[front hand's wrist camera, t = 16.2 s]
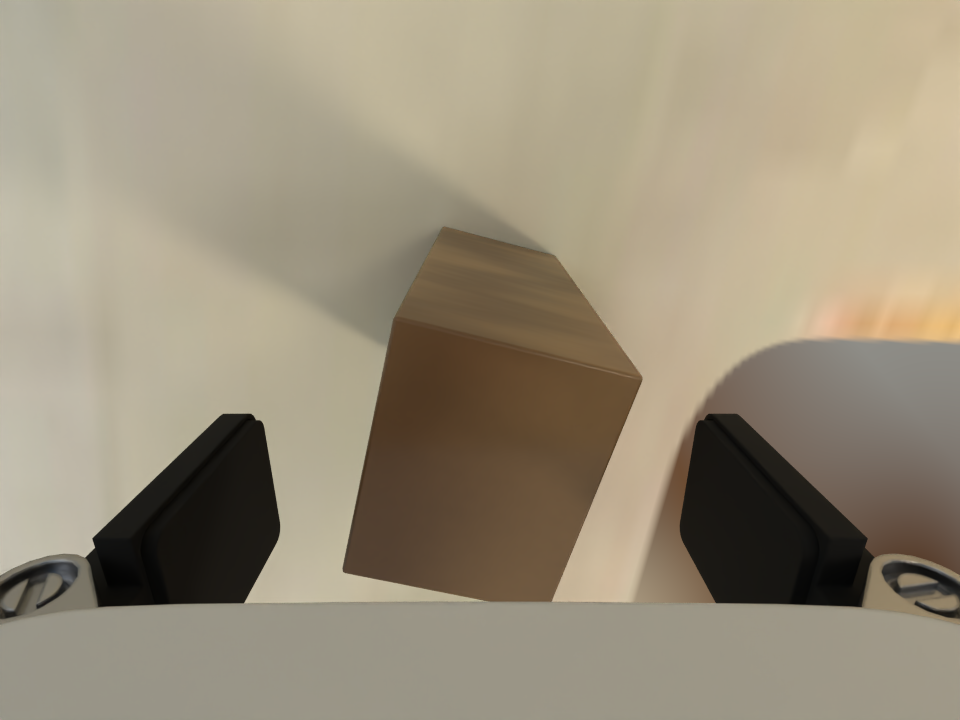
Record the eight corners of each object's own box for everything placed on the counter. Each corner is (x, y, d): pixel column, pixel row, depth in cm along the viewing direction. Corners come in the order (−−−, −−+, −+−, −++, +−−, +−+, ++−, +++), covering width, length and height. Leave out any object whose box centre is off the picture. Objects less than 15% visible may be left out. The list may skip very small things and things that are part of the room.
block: (556, 255, 20) (644, 377, 9) (515, 387, 22) (547, 614, 11) (442, 226, 19) (393, 315, 9) (411, 362, 22) (340, 573, 11)
